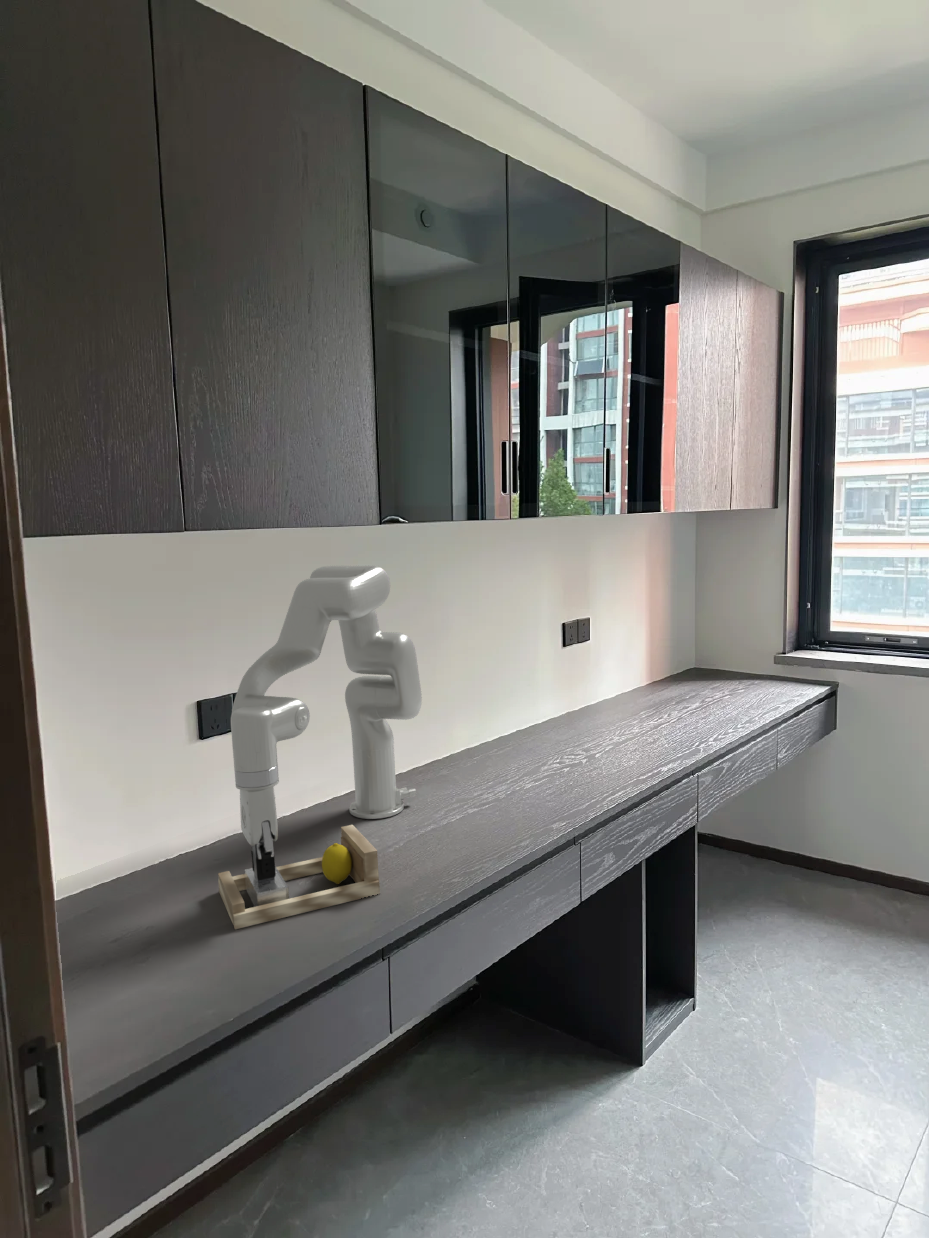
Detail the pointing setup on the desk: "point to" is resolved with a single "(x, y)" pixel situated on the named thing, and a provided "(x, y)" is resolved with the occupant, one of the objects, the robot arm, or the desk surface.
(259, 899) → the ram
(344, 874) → the lemon
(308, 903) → the press frame
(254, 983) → the desk surface
